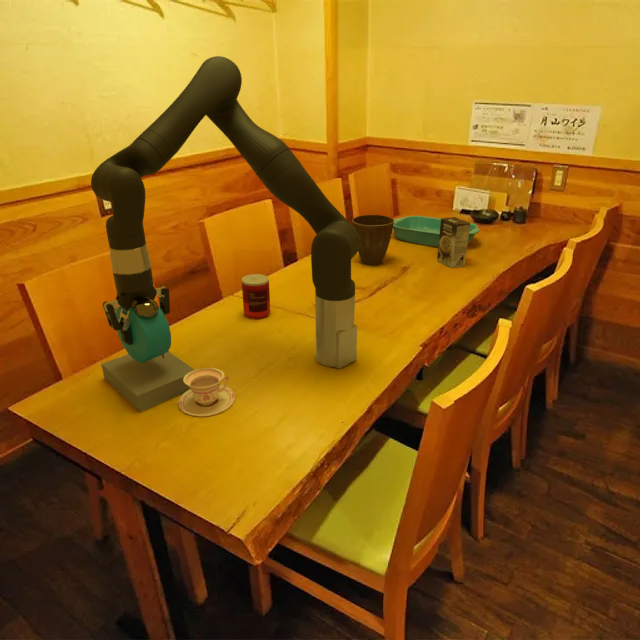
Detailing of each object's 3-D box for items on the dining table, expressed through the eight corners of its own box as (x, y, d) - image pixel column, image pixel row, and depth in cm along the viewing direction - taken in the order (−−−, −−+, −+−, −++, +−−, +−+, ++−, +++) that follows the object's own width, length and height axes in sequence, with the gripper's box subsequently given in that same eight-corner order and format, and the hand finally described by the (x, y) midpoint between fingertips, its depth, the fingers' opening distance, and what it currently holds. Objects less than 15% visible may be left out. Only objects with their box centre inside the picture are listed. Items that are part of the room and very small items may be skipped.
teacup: (178, 421, 105) (175, 396, 102) (178, 390, 115) (174, 366, 113) (238, 412, 107) (236, 387, 105) (232, 382, 118) (230, 359, 115)
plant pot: (369, 272, 182) (371, 227, 175) (343, 261, 193) (343, 218, 186) (400, 263, 190) (403, 220, 183) (373, 253, 201) (374, 212, 194)
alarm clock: (175, 361, 113) (166, 298, 107) (150, 372, 109) (139, 308, 103) (143, 342, 121) (133, 283, 115) (119, 352, 117) (107, 291, 111)
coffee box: (436, 261, 193) (440, 218, 186) (450, 258, 195) (454, 216, 188) (451, 268, 185) (456, 224, 178) (465, 266, 188) (471, 222, 181)
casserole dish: (381, 240, 218) (382, 223, 215) (405, 228, 235) (406, 212, 232) (465, 255, 199) (468, 237, 196) (485, 241, 215) (487, 224, 212)
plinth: (198, 386, 116) (197, 371, 114) (140, 412, 108) (137, 395, 106) (160, 357, 128) (157, 343, 126) (104, 378, 119) (101, 363, 118)
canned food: (257, 306, 156) (255, 272, 151) (276, 313, 151) (274, 278, 147) (238, 314, 151) (235, 279, 146) (257, 322, 146) (255, 285, 141)
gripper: (155, 254, 113) (165, 323, 120) (89, 270, 104) (104, 343, 111) (172, 262, 108) (182, 333, 115) (104, 279, 99) (119, 356, 106)
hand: (143, 338), depth 113 cm, fingers closed on alarm clock, 6 cm apart
